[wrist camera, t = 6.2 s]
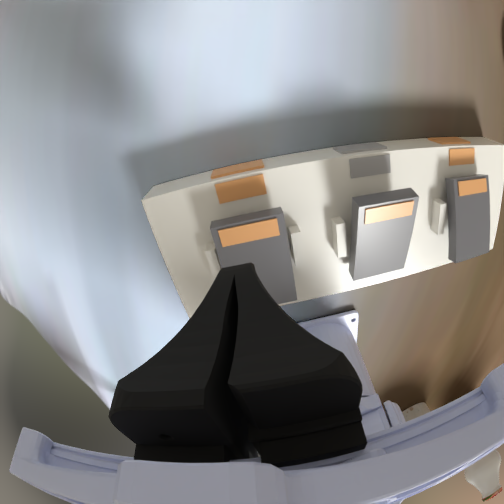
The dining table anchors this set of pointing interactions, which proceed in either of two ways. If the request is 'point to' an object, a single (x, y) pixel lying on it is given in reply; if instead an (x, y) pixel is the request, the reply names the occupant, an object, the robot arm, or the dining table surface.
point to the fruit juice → (485, 475)
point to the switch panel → (319, 208)
